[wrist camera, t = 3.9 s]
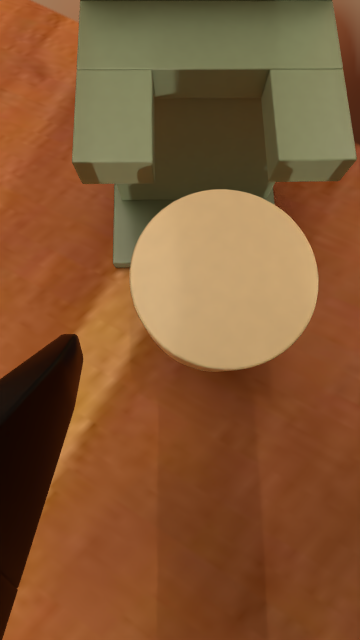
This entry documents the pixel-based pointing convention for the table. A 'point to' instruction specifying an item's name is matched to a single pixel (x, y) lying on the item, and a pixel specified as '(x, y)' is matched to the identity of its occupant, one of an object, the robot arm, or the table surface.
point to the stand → (206, 101)
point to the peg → (223, 280)
